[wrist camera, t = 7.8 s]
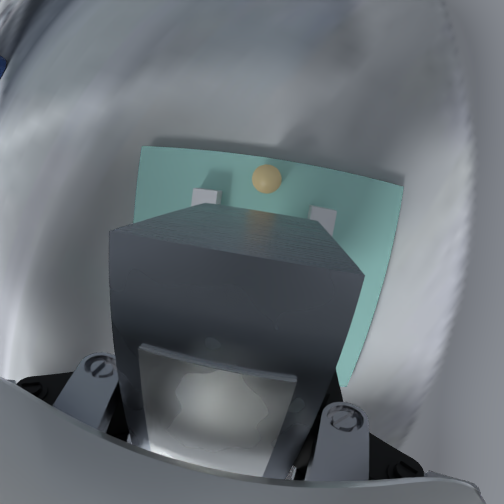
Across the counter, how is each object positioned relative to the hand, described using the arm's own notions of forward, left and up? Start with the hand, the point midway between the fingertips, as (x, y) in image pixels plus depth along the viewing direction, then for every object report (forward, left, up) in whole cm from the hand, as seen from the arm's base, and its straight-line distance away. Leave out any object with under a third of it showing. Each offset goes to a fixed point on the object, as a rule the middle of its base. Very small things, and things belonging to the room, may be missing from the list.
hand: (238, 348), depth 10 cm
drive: (0, 0, -1) cm, 1 cm away
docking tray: (0, 0, -10) cm, 10 cm away
